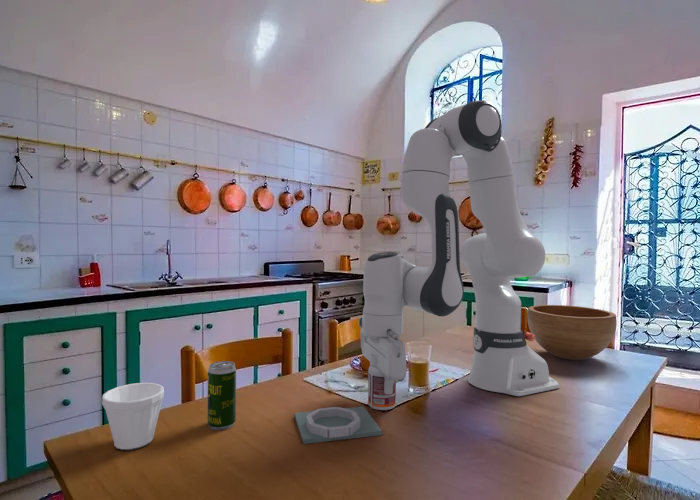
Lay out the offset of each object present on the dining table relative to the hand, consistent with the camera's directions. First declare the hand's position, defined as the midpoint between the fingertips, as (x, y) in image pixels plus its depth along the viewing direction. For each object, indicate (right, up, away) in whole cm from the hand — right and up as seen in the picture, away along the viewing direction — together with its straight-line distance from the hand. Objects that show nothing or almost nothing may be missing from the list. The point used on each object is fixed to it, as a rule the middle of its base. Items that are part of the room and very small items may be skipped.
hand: (381, 387), depth 95 cm
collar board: (-10, -4, -10) cm, 15 cm away
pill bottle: (0, -4, 0) cm, 4 cm away
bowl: (+63, -4, +41) cm, 75 cm away
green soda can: (-32, -4, -11) cm, 34 cm away
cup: (-46, -4, -18) cm, 50 cm away
